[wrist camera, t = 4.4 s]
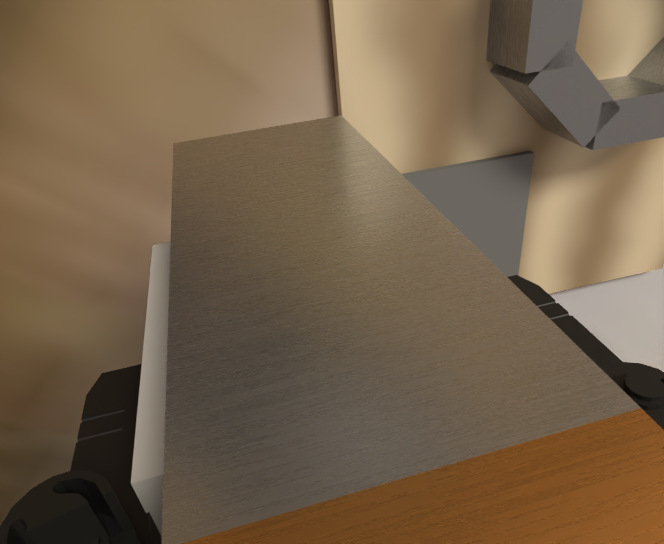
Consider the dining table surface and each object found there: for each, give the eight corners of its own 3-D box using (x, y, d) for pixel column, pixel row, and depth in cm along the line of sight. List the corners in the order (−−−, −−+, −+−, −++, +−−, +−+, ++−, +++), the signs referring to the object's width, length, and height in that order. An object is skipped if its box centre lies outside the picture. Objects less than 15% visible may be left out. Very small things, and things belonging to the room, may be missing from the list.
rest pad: (381, 313, 31) (383, 316, 31) (375, 178, 27) (377, 181, 26) (513, 283, 33) (516, 287, 32) (530, 150, 28) (534, 152, 28)
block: (212, 285, 17) (280, 955, 6) (173, 143, 14) (150, 887, 3) (352, 255, 18) (662, 788, 6) (341, 115, 15) (846, 608, 4)
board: (356, 329, 33) (360, 336, 32) (310, -213, 19) (314, -220, 18) (653, 262, 36) (661, 268, 35) (805, -245, 22) (824, -251, 21)
